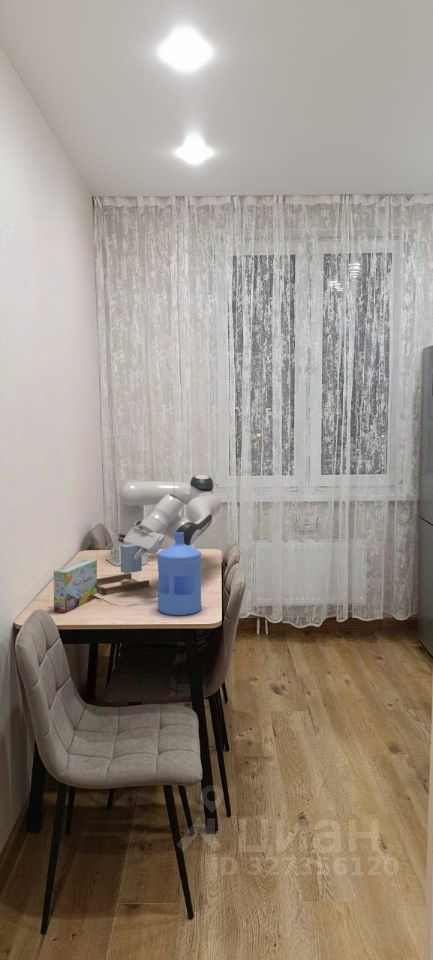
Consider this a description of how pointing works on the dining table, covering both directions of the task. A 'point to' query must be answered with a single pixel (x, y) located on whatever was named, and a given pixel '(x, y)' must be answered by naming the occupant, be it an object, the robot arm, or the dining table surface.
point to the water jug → (179, 578)
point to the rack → (121, 587)
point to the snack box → (75, 585)
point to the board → (130, 559)
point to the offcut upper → (127, 581)
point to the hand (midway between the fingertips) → (130, 557)
